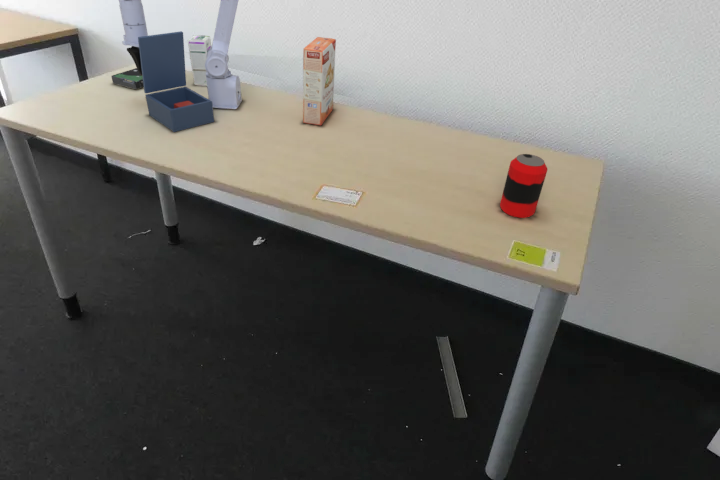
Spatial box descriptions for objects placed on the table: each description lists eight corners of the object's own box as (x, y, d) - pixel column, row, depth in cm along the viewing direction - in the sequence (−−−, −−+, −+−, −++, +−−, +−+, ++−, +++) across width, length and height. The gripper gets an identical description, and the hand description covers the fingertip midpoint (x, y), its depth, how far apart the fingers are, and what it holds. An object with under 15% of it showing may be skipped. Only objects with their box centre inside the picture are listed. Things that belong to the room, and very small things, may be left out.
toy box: (214, 121, 143) (212, 101, 139) (173, 132, 135) (170, 110, 132) (188, 106, 151) (185, 86, 147) (149, 115, 144) (145, 94, 140)
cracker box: (322, 126, 144) (323, 50, 132) (302, 123, 145) (301, 47, 133) (334, 109, 155) (336, 38, 143) (315, 107, 156) (316, 35, 144)
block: (198, 120, 141) (196, 105, 138) (183, 124, 138) (181, 108, 136) (190, 115, 143) (188, 100, 141) (175, 119, 141) (173, 103, 138)
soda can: (528, 201, 115) (542, 152, 109) (539, 219, 109) (554, 169, 102) (495, 200, 115) (507, 151, 108) (504, 218, 109) (517, 167, 102)
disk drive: (147, 73, 174) (112, 84, 163) (145, 64, 173) (110, 75, 161) (170, 78, 171) (136, 90, 159) (169, 70, 169) (134, 81, 158)
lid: (183, 32, 137) (181, 31, 137) (139, 38, 130) (137, 36, 130) (186, 85, 147) (184, 84, 147) (145, 93, 140) (144, 92, 140)
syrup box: (211, 86, 166) (206, 40, 158) (193, 85, 166) (187, 39, 158) (215, 80, 171) (211, 35, 163) (198, 79, 171) (192, 34, 163)
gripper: (108, 19, 139) (119, 69, 147) (131, 30, 131) (141, 83, 138) (133, 16, 143) (143, 65, 151) (157, 27, 135) (166, 78, 142)
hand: (144, 73), depth 145 cm, fingers closed
